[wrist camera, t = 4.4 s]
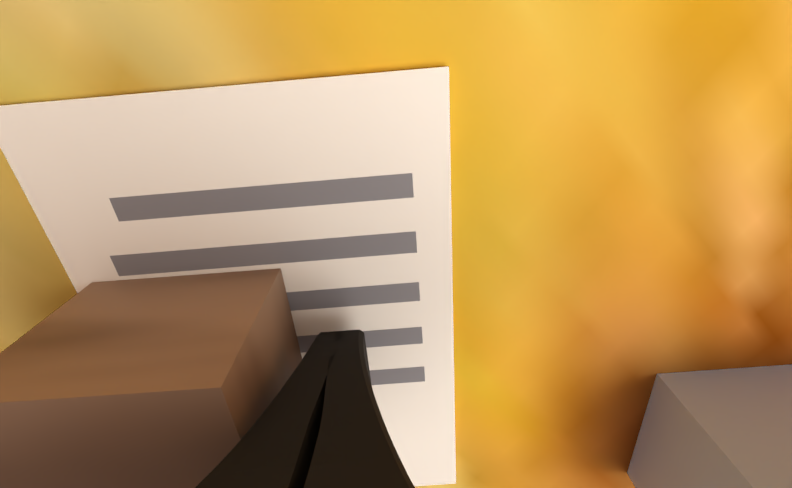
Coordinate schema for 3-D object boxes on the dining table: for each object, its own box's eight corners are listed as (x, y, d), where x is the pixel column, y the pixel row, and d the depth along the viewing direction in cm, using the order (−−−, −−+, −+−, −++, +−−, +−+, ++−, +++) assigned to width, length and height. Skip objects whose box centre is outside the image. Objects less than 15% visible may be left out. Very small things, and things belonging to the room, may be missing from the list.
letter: (455, 477, 14) (456, 483, 14) (189, 496, 15) (187, 502, 14) (447, 66, 8) (448, 66, 8) (-13, 106, 8) (-21, 107, 8)
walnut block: (313, 404, 12) (282, 549, 9) (158, 415, 12) (63, 563, 9) (280, 268, 10) (221, 387, 6) (92, 282, 10) (-70, 406, 7)
